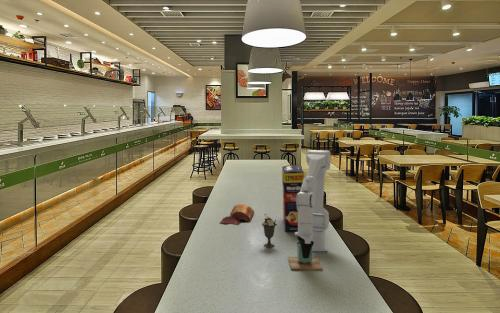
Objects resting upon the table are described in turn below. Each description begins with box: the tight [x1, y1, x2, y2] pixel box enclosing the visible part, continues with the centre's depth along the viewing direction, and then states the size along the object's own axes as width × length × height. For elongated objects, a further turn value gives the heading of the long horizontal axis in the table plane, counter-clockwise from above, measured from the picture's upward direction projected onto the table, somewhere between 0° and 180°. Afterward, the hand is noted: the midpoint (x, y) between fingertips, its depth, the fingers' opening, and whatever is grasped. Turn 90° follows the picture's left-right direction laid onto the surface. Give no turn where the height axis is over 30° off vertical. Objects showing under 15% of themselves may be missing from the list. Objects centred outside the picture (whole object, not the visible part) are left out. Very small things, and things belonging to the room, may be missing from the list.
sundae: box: [261, 213, 278, 249], centre depth 169 cm, size 7×7×15 cm
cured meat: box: [219, 203, 255, 226], centre depth 215 cm, size 18×25×7 cm
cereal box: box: [281, 164, 305, 233], centre depth 201 cm, size 27×11×32 cm, turn 177°
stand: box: [287, 256, 324, 272], centre depth 148 cm, size 12×12×5 cm
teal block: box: [296, 241, 313, 262], centre depth 148 cm, size 5×5×6 cm
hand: (304, 255), depth 148 cm, fingers closed on teal block, 5 cm apart
